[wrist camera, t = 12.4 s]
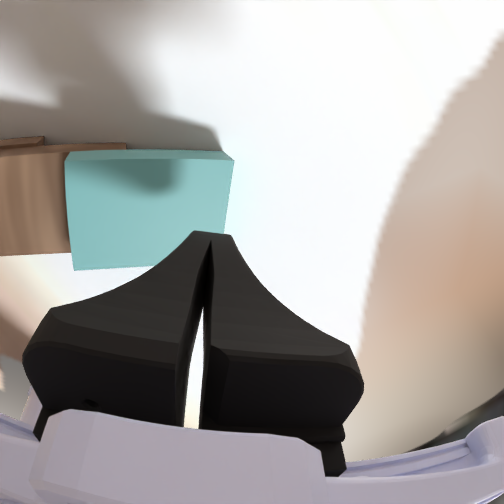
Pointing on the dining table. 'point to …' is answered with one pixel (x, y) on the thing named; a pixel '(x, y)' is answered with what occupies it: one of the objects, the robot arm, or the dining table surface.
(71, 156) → the domino
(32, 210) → the domino
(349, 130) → the dining table surface
